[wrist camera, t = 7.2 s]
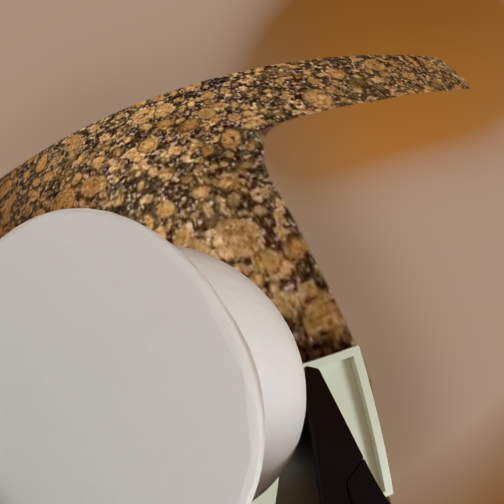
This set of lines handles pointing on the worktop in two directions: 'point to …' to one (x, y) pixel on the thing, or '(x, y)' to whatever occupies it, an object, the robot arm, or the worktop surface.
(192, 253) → the supplement bottle
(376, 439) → the tray
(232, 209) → the worktop surface
